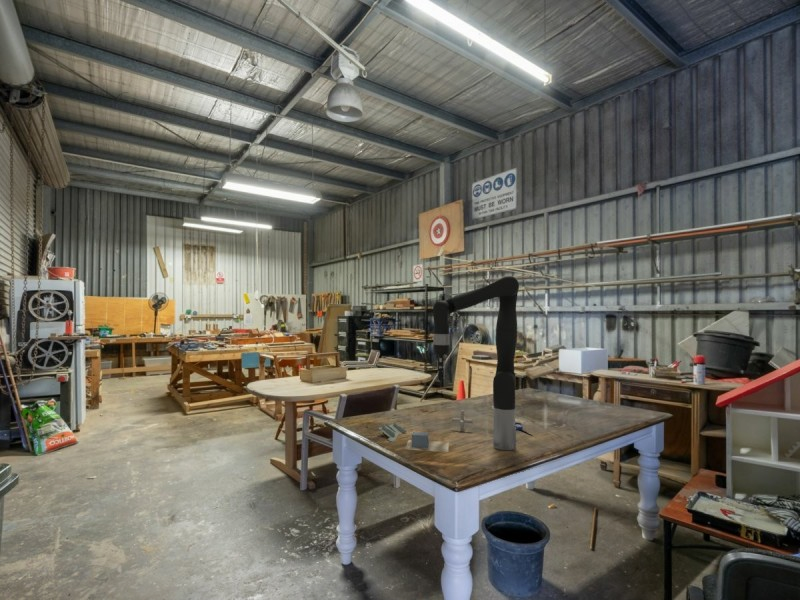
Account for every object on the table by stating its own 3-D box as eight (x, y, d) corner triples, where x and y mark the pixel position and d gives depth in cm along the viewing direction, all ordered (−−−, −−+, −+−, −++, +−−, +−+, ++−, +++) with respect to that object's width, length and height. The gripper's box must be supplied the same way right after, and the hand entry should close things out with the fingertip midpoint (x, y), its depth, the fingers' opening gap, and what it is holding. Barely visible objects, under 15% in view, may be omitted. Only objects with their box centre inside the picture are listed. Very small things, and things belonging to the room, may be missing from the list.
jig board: (448, 445, 176) (449, 436, 176) (448, 455, 163) (448, 445, 163) (408, 442, 179) (408, 434, 179) (404, 452, 166) (404, 443, 166)
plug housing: (428, 444, 172) (428, 433, 172) (428, 447, 168) (428, 435, 168) (412, 443, 173) (412, 432, 174) (411, 446, 169) (411, 434, 169)
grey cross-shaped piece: (454, 427, 205) (454, 407, 205) (473, 429, 202) (473, 409, 202) (450, 432, 195) (450, 412, 196) (471, 434, 192) (471, 413, 192)
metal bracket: (374, 424, 188) (397, 418, 199) (372, 435, 189) (395, 429, 200) (394, 439, 178) (417, 433, 188) (391, 451, 179) (414, 444, 189)
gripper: (449, 345, 176) (448, 381, 176) (449, 343, 190) (449, 377, 190) (432, 344, 177) (431, 381, 177) (434, 342, 192) (433, 376, 191)
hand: (441, 379), depth 183 cm, fingers open, 8 cm apart
